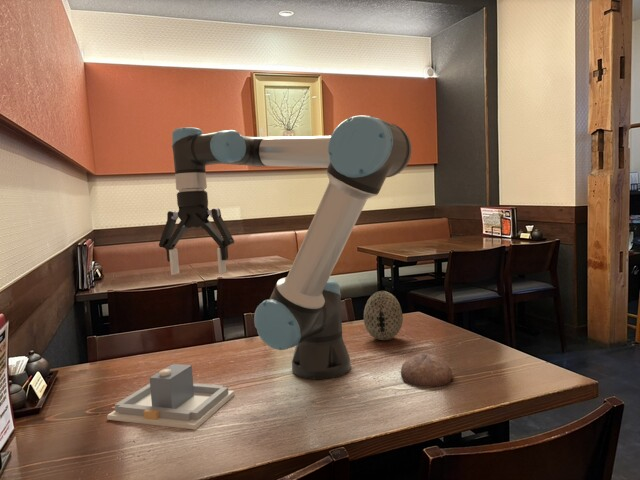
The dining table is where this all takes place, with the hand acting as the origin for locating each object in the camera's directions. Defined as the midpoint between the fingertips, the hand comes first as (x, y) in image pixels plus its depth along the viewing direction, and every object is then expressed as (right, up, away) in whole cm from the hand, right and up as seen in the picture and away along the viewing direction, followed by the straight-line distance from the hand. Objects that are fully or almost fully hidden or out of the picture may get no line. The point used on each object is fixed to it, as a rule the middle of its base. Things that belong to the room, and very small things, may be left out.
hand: (198, 273), depth 117 cm
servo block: (-1, -27, -18) cm, 32 cm away
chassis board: (-1, -28, -18) cm, 33 cm away
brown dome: (+57, -24, -9) cm, 62 cm away
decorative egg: (+51, -22, +22) cm, 59 cm away
